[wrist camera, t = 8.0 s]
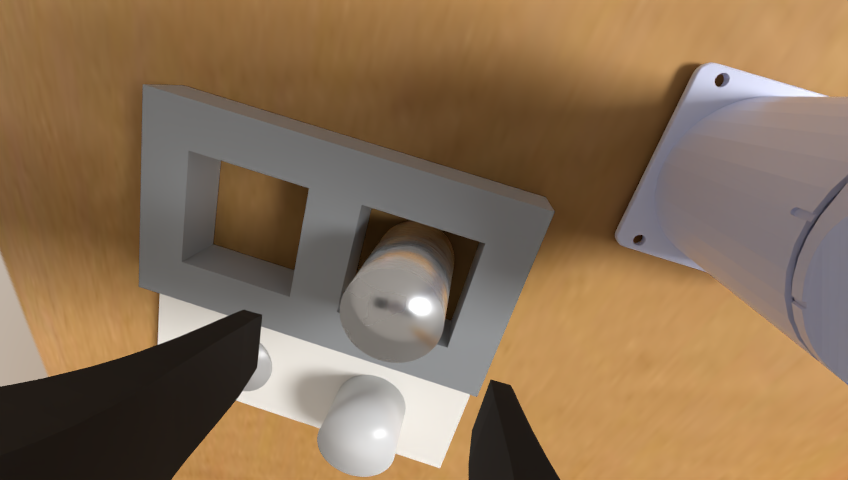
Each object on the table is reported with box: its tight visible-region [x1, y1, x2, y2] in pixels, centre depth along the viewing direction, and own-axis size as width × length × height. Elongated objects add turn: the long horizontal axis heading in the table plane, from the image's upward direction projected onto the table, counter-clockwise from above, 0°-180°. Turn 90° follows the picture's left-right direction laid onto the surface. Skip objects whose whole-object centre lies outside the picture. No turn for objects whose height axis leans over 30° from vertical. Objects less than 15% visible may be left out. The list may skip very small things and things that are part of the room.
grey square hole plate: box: [139, 84, 555, 397], centre depth 20 cm, size 18×10×2 cm, turn 74°
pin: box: [340, 221, 455, 363], centre depth 18 cm, size 4×4×6 cm
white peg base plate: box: [158, 294, 470, 477], centre depth 22 cm, size 18×6×4 cm, turn 74°
